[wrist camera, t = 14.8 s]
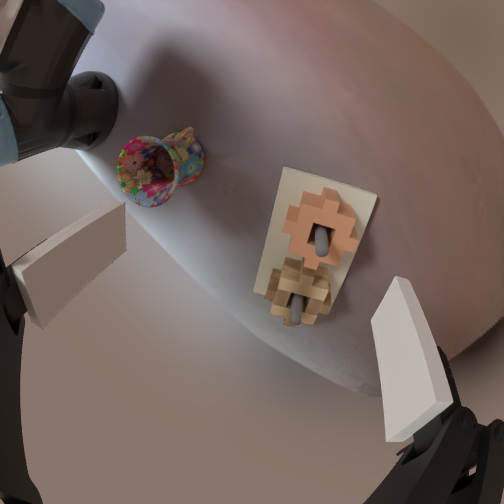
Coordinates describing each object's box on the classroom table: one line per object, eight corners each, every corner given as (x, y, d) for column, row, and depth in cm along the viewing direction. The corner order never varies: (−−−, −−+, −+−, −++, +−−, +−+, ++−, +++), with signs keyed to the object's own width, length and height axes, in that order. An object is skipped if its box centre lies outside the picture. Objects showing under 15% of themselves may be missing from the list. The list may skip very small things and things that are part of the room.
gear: (265, 295, 47) (258, 317, 42) (278, 246, 42) (273, 266, 37) (318, 309, 46) (318, 333, 41) (338, 263, 41) (341, 284, 36)
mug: (182, 197, 43) (148, 221, 34) (146, 157, 41) (106, 172, 32) (233, 147, 38) (208, 158, 28) (193, 104, 35) (156, 103, 26)
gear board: (254, 288, 48) (238, 331, 39) (284, 166, 37) (274, 184, 28) (328, 308, 47) (329, 354, 37) (375, 193, 36) (396, 221, 27)
